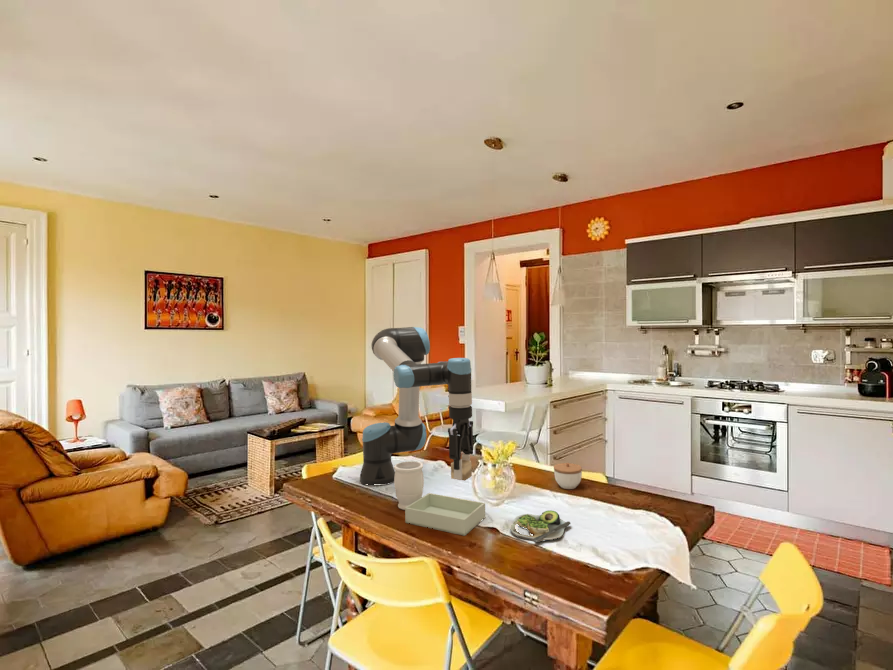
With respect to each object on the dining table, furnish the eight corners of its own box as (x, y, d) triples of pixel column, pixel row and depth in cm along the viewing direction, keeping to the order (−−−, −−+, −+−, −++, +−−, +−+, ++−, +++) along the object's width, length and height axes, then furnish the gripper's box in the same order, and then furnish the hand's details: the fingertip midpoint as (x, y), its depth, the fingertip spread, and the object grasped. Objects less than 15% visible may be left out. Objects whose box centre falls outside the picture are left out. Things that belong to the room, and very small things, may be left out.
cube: (471, 476, 161) (471, 461, 161) (464, 480, 157) (464, 465, 157) (458, 474, 164) (457, 459, 164) (451, 478, 160) (450, 463, 159)
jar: (426, 500, 182) (425, 460, 181) (422, 512, 172) (420, 469, 171) (398, 500, 183) (396, 460, 182) (392, 511, 173) (390, 469, 172)
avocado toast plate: (563, 551, 141) (563, 535, 141) (503, 542, 148) (502, 527, 148) (572, 524, 159) (572, 510, 159) (518, 517, 166) (518, 503, 166)
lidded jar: (585, 484, 195) (585, 461, 194) (577, 493, 186) (576, 468, 185) (559, 480, 201) (559, 457, 200) (550, 488, 192) (549, 464, 191)
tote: (429, 506, 176) (428, 492, 176) (485, 517, 165) (485, 503, 165) (405, 522, 163) (405, 507, 163) (464, 535, 152) (464, 519, 152)
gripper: (462, 400, 169) (464, 467, 170) (436, 409, 154) (438, 483, 154) (482, 401, 166) (484, 470, 166) (457, 411, 150) (459, 486, 151)
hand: (462, 476), depth 160 cm, fingers closed on cube, 5 cm apart
